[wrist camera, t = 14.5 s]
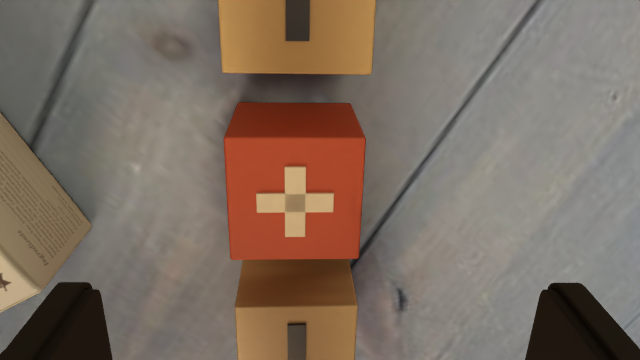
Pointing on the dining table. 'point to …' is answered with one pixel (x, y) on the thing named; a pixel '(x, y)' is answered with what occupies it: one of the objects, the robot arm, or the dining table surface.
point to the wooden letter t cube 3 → (296, 310)
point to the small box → (32, 221)
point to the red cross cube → (294, 181)
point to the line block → (297, 36)
